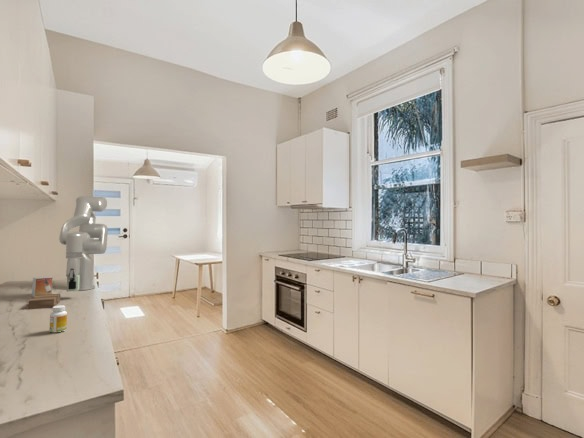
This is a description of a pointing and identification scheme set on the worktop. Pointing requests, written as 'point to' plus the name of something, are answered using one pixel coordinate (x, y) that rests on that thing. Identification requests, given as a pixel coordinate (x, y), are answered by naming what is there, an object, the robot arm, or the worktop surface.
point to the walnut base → (44, 301)
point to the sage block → (76, 283)
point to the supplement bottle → (58, 319)
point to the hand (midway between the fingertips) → (73, 287)
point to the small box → (42, 286)
